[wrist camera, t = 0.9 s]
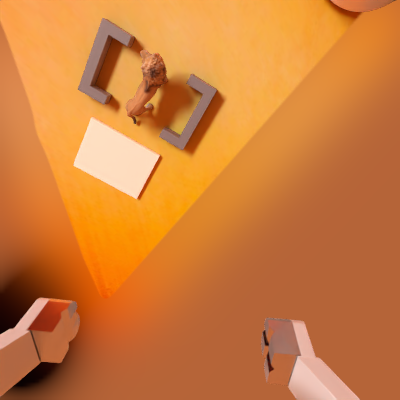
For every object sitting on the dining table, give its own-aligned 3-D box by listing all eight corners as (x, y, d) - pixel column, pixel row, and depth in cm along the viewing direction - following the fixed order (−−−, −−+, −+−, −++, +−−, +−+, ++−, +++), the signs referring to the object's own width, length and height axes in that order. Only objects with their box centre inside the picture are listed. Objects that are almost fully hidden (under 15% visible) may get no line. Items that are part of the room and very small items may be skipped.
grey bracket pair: (107, 19, 41) (102, 17, 40) (216, 89, 45) (216, 90, 43) (83, 88, 46) (77, 89, 44) (184, 147, 49) (182, 150, 47)
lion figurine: (151, 46, 43) (139, 43, 36) (177, 61, 43) (169, 60, 37) (124, 117, 48) (109, 126, 41) (147, 129, 48) (136, 140, 42)
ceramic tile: (93, 116, 48) (91, 117, 47) (160, 155, 50) (159, 156, 49) (74, 164, 52) (73, 165, 51) (137, 197, 54) (136, 199, 54)
